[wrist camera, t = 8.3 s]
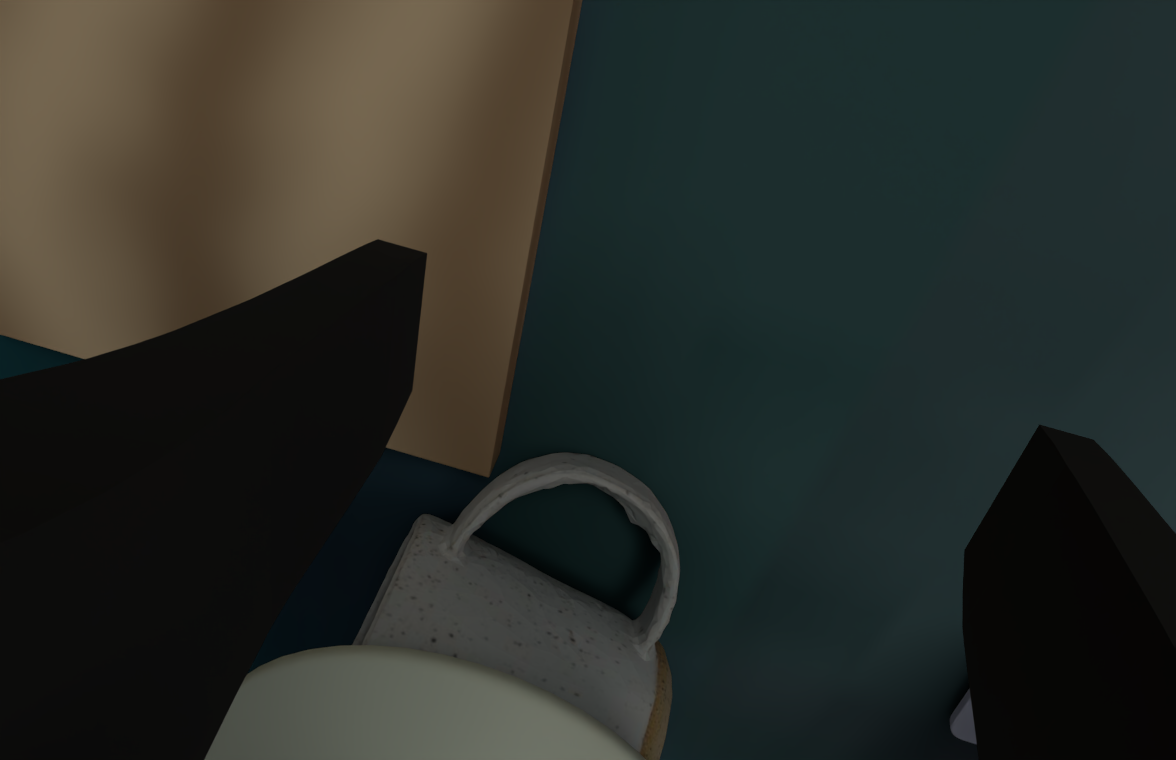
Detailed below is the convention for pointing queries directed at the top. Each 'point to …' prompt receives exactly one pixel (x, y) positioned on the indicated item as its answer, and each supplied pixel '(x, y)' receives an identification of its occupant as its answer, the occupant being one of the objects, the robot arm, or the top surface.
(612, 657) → the ceramic mug
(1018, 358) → the top surface
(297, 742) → the lid
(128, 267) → the trivet
